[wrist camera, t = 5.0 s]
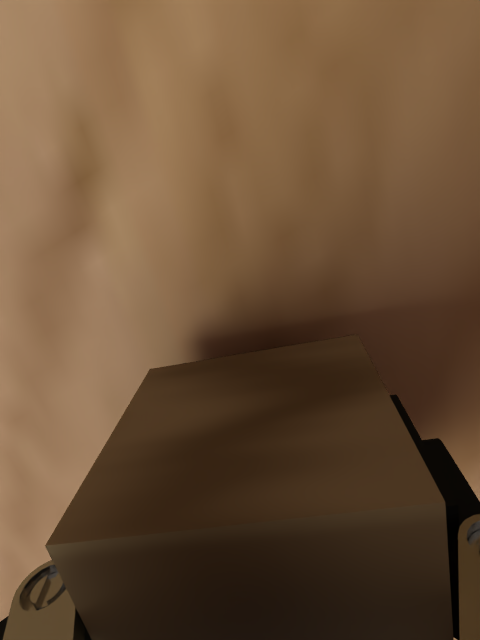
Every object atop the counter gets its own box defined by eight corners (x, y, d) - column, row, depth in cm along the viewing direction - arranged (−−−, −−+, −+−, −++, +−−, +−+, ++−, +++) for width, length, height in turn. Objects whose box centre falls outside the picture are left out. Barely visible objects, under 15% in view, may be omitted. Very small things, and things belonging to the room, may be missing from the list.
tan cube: (357, 334, 11) (445, 502, 6) (378, 503, 13) (460, 753, 8) (150, 369, 12) (45, 545, 6) (199, 523, 14) (152, 763, 8)
